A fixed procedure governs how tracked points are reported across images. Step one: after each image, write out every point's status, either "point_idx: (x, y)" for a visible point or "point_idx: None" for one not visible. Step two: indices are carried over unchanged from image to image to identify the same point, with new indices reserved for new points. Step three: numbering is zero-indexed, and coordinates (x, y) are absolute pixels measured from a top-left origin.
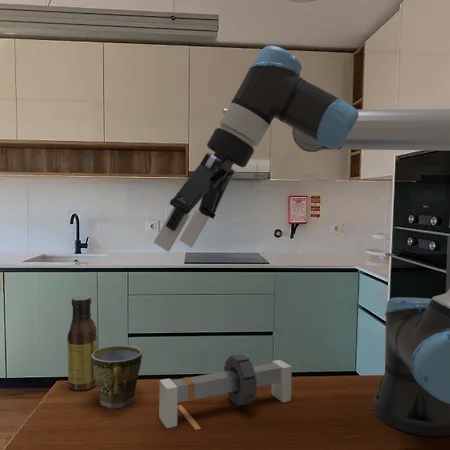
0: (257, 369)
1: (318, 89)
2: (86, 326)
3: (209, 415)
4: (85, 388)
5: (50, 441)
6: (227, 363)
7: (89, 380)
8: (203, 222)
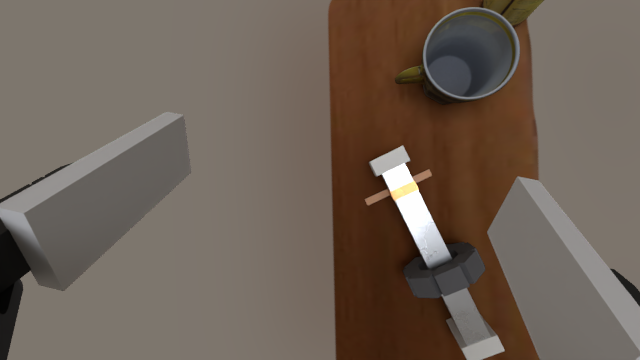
0: (457, 303)
1: None
2: None
3: None
4: None
5: (336, 33)
6: (467, 254)
7: None
8: (546, 355)
